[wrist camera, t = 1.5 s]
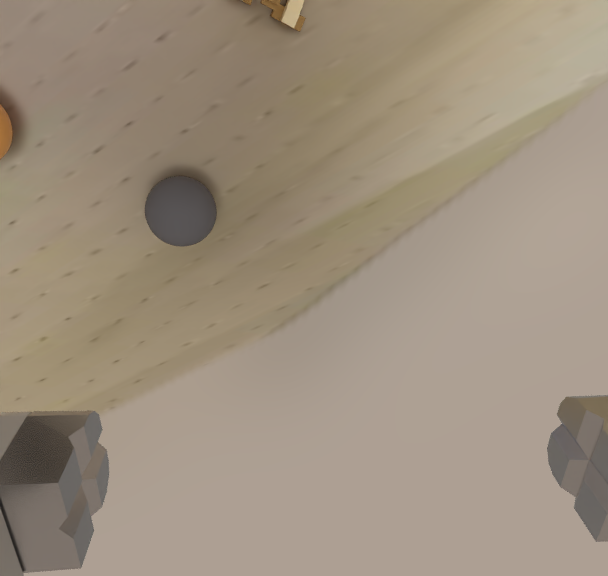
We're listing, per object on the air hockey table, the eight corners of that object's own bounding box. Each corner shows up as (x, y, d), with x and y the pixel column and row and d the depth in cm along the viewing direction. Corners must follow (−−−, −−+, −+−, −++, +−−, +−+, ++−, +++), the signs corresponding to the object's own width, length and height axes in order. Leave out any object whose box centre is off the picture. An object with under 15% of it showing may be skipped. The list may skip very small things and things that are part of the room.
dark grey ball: (139, 219, 39) (131, 241, 35) (161, 158, 38) (156, 173, 33) (201, 242, 41) (201, 266, 36) (225, 185, 39) (228, 202, 35)
